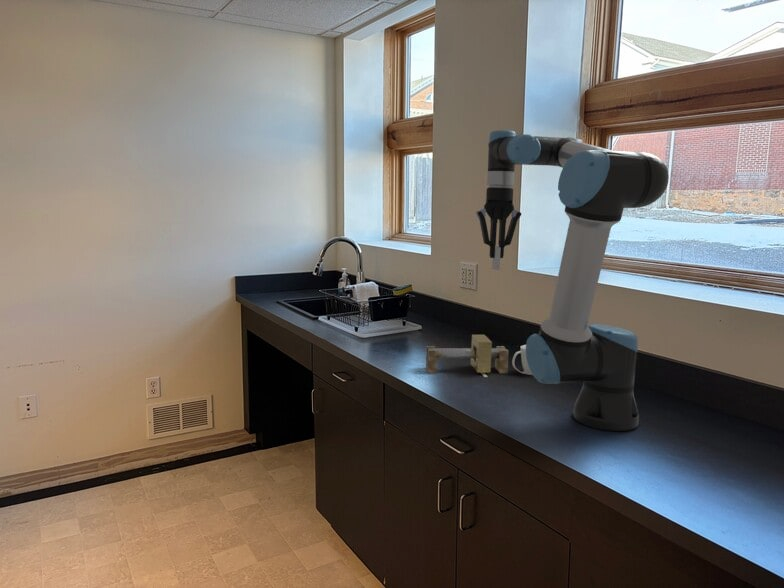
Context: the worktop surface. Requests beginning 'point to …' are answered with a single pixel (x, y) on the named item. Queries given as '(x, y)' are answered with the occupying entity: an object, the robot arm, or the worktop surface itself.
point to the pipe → (463, 352)
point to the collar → (481, 353)
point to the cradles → (500, 362)
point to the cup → (524, 361)
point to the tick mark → (484, 374)
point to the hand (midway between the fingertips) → (495, 269)
